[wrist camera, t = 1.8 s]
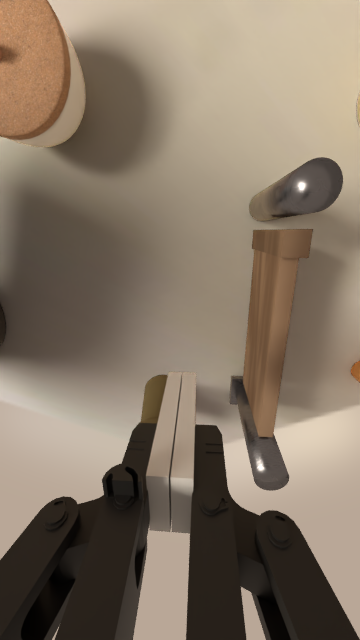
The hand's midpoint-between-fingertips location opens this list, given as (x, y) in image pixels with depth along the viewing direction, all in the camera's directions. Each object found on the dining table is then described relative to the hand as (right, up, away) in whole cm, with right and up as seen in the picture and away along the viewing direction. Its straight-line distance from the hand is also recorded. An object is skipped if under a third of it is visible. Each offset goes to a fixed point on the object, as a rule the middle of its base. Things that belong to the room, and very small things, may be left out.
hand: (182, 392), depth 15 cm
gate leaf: (+9, +5, +17) cm, 20 cm away
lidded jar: (-14, +28, +12) cm, 33 cm away
